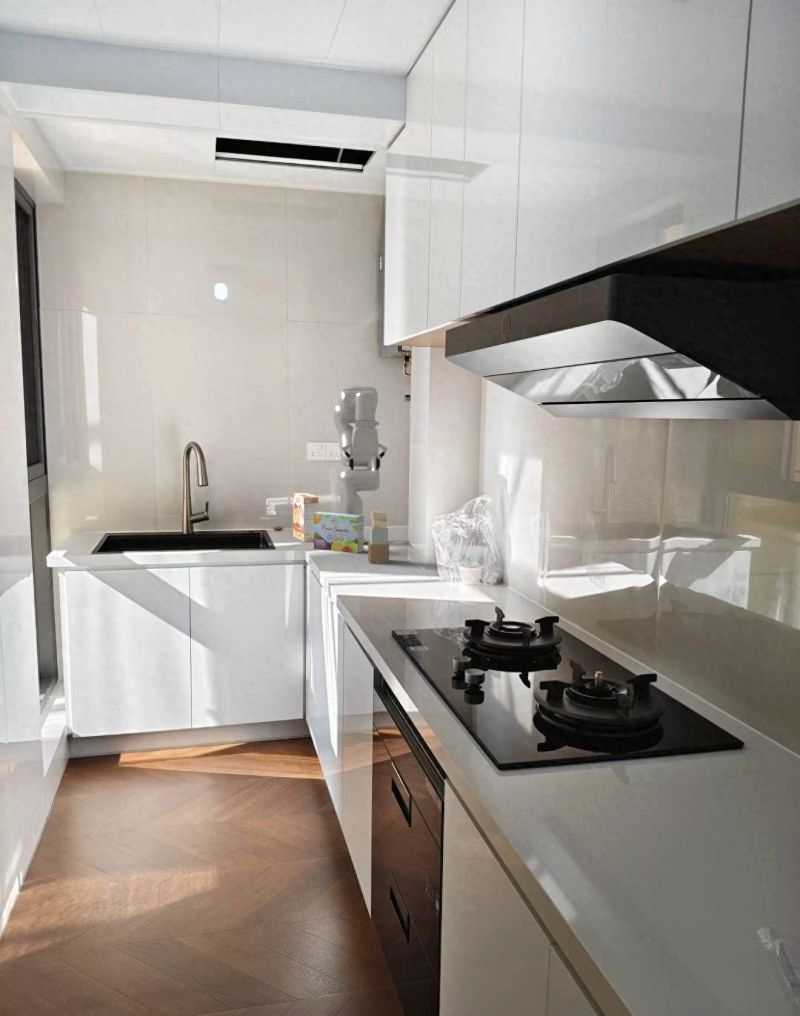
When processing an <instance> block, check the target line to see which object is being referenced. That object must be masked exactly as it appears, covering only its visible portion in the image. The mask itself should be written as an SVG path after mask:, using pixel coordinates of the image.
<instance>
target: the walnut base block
mask: <svg viewBox="0 0 800 1016" xmlns="http://www.w3.org/2000/svg"><path fill="white" fill-rule="evenodd" d="M367 546H368V549H367V552H368V553H367V560H369V561H370V562H369V561H368V562H369V564H370V563H377V562H378V564H390V544H389V543H388V545H371V543H370V541H368V543H367Z"/></svg>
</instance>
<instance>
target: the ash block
mask: <svg viewBox="0 0 800 1016" xmlns="http://www.w3.org/2000/svg"><path fill="white" fill-rule="evenodd" d="M370 515H371V516H370V517H371V518H370V519H371V520H370V522H371V525H370V527H372V528H373V529H388V528H387V523H388V522H387V521H388V518H387V517H388V513H387V512H386V511H385V510H373V511H371V513H370Z"/></svg>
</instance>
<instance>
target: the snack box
mask: <svg viewBox="0 0 800 1016" xmlns="http://www.w3.org/2000/svg"><path fill="white" fill-rule="evenodd" d="M364 523H365V519H364V514H363V515H353V514H342V513H341V512H340V513H339V512H332V511H331V512H328V511H322V510H321V511H318V512H315V513H314V541H313V549H316V550H324V551H325V550H326V551H332V552H342V553H349V554H350V553H351V554H360V553H363V552H364V550H365V549H364V539H365V538H364V537H365V536H364V533H365V530H364V529H365V528H364V527H365V525H364Z"/></svg>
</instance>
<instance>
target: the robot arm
mask: <svg viewBox="0 0 800 1016" xmlns="http://www.w3.org/2000/svg"><path fill="white" fill-rule="evenodd" d="M378 395H379V393H378V391H377V389H376V388H375V387H374V386H370V385H369V386H367V385H365V386H363V385H362V386H360V385H359V386H357V385H356V386H355V385H352V386H351V385H350V386H348V387H346V389H345V388H344V389H341V390H340V392H339V394H338V404H336V405H335V406H334V408H333V413H332V414H333V415H332V417H333V421H334V426H335V429H336V431H337V433H338V437H339V450H340V461H341V464H342V465H343V466H344V467H346V468H347V469H346V468H345V469H343V470H341V471H340V472H339V474H338V485H339V486H338V487H339V492H340V493H339V495H340V513H342V514H353V515H363V516H364V502H363V499H362V497H361V496H360V495H359V494H358V493H360V492H376V491H378V490H379V488H380V486H381V477H380V474H381V473H380V468H381V459H382V458H383V457H384V456H385V455H386V453H387V451H388V447H386V446H385V445H383V444H381V443H379V435H378V434H379V433H378V429H377V428H376V427H377V426H380V422H379V421H377V420H376V412H377V408H378V402H379V396H378ZM351 424H354V425H355V427H354V426H352V425H351ZM379 448H380V449H382V451H381V453H379ZM364 543H365V544H366V543H367V539H365V538H364Z"/></svg>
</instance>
